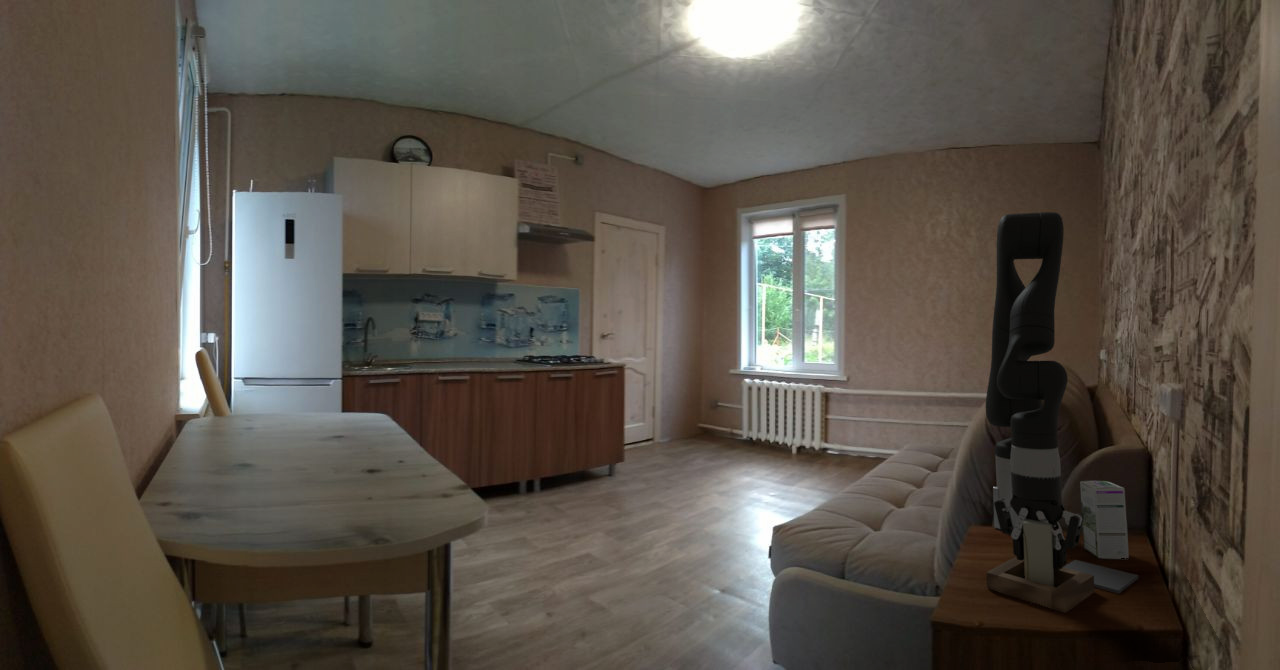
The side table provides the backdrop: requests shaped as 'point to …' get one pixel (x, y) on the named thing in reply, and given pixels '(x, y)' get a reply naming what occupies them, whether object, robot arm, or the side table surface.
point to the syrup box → (1104, 519)
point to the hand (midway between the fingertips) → (1039, 563)
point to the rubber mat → (1104, 576)
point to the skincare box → (1038, 552)
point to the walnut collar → (1041, 585)
